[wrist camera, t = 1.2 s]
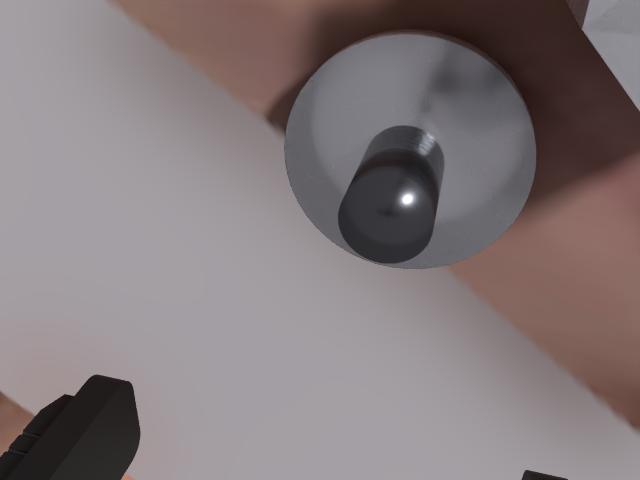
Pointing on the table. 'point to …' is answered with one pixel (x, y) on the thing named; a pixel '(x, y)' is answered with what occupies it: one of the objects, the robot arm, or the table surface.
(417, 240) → the lid
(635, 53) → the pot
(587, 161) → the table surface
